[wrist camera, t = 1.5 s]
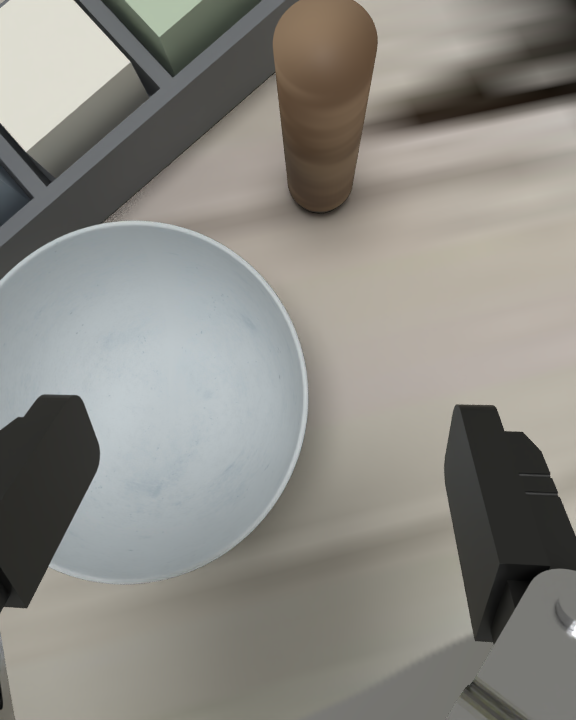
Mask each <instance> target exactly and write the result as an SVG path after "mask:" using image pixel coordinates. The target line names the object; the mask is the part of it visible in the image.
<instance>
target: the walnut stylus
mask: <svg viewBox="0 0 576 720" xmlns="http://www.w3.org/2000/svg"><path fill="white" fill-rule="evenodd" d="M377 44H378V40H377V31H376V28H375V25H374V23H373V20H372V18H371V17H370V15H369V14H368V13H367V11H366V10H365V9H364V8H363V7H362V6H361V5H359V4H358V3H357V2H355V1H354V0H299V1H298V2H296V3H295V4H293V5H292V6H291V7H290V8H289V9H288V10H287V11H285V13H284V14H283V15H282V17H281V18H280V20H279V22H278V24H277V26H276V28H275V32H274V36H273V53H274V63H275V72H276V81H277V90H278V99H279V108H280V117H281V126H282V135H283V144H284V153H285V162H286V171H287V180H288V188H289V191H290V193H291V195H292V197H293V199H294V200H295V201H296V202H297V203H298V204H299V205H301V206H302V207H303V208H305V209H306V210H308V211H311V212H314V213H326V212H329V211H331V210H333V209H335V208H336V207H338V206H339V205H341V204H342V203H343V202H344V201H345V200H346V199H347V197H348V196H349V194H350V192H351V189H352V185H353V179H354V174H355V168H356V163H357V157H358V152H359V146H360V141H361V135H362V129H363V124H364V118H365V113H366V107H367V102H368V96H369V91H370V85H371V80H372V74H373V68H374V63H375V57H376V52H377Z"/></svg>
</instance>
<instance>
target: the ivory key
mask: <svg viewBox="0 0 576 720" xmlns="http://www.w3.org/2000/svg"><path fill="white" fill-rule="evenodd" d="M148 99H149V96H148V94H147V92H146V90H145V88H144V86H143V85H142V83H141V81H140V79H139V77H138V75H137V73H136V71H135V69H134V67H133V66H132V64H131V62H130V61H129V60H128V59H127V58H126V56H125V55H124V54H123V53H122V52H121V51H120V50H119V49H118V48H117V47H116V46H115V45H114V43H113V42H112V41H111V40H110V39H109V38H108V37H107V36H106V35H105V34H104V33H103V32H102V30H101V29H100V28H99V27H98V26H97V25H96V24H95V23H94V22H93V21H92V20H91V19H90V17H89V16H88V15H87V14H86V13H85V12H84V11H83V10H82V9H81V8H80V7H79V6H78V4H77V3H76V2H75V1H74V0H9V1H8V2H7V3H6V4H5V5H4V6H2V7H1V8H0V123H1V124H2V125H3V126H4V128H5V129H6V130H7V131H8V132H9V133H10V134H11V136H12V137H13V138H14V139H15V140H16V141H17V142H18V144H19V145H20V146H21V147H22V148H23V149H24V150H25V152H26V153H28V154H29V155H30V156H31V157H32V158H33V159H34V160H35V161H37V162H38V163H39V164H40V165H41V166H42V167H43V168H44V169H45V170H47V171H48V172H49V173H50V174H51V175H52V176H53V177H54V178H57V177H59V176H60V175H61V174H62V173H63V172H64V171H65V170H67V169H68V168H69V167H70V166H71V165H72V164H74V163H75V162H76V161H77V160H78V159H79V158H81V157H82V156H83V155H84V154H85V153H86V152H87V151H89V150H90V149H91V148H92V147H93V146H94V145H96V144H97V143H98V142H99V141H100V140H101V139H102V138H104V137H105V136H106V135H107V134H108V133H109V132H111V131H112V130H113V129H114V128H115V127H116V126H118V125H119V124H120V123H121V122H122V121H123V120H124V119H126V118H127V117H128V116H129V115H130V114H131V113H133V112H134V111H135V110H136V109H137V108H138V107H140V106H141V105H142V104H143V103H144V102H145V101H146V100H148Z"/></svg>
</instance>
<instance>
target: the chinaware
mask: <svg viewBox="0 0 576 720" xmlns="http://www.w3.org/2000/svg"><path fill="white" fill-rule="evenodd" d="M44 394H54V395H78V396H80V397H81V399H82V400H83V402H84V405H85V407H86V410H87V413H88V416H89V418H90V421H91V424H92V426H93V429H94V432H95V435H96V437H97V440H98V443H99V447H100V461H99V466H98V469H97V472H96V474H95V476H94V478H93V480H92V482H91V484H90V486H89V488H88V490H87V492H86V494H85V496H84V498H83V500H82V502H81V504H80V505H79V507H78V509H77V511H76V513H75V515H74V517H73V519H72V521H71V523H70V525H69V527H68V529H67V531H66V533H65V535H64V537H63V539H62V541H61V543H60V545H59V547H58V549H57V551H56V553H55V554H54V556H53V558H52V560H51V562H50V564H49V566H48V567H50V568H52V569H54V570H56V571H59V572H61V573H64V574H67V575H69V576H73V577H76V578H79V579H84V580H88V581H93V582H99V583H107V584H142V583H150V582H156V581H161V580H165V579H170V578H173V577H177V576H180V575H183V574H186V573H188V572H191V571H193V570H196V569H198V568H200V567H202V566H204V565H206V564H208V563H210V562H212V561H214V560H215V559H217V558H219V557H220V556H222V555H223V554H225V553H226V552H228V551H229V550H231V549H232V548H233V547H235V546H236V545H237V544H238V543H240V542H241V541H242V540H243V539H244V538H245V537H247V536H248V535H249V534H250V533H251V532H252V531H253V530H254V529H255V528H256V527H257V526H258V525H259V524H260V522H261V521H262V520H263V519H264V518H265V517H266V515H267V514H268V513H269V512H270V510H271V509H272V508H273V506H274V505H275V503H276V502H277V500H278V499H279V497H280V496H281V494H282V492H283V491H284V489H285V487H286V485H287V483H288V481H289V479H290V477H291V475H292V473H293V470H294V468H295V466H296V463H297V460H298V457H299V454H300V451H301V448H302V444H303V440H304V435H305V430H306V424H307V416H308V379H307V371H306V365H305V360H304V355H303V351H302V348H301V344H300V341H299V338H298V335H297V333H296V330H295V328H294V325H293V323H292V321H291V319H290V317H289V315H288V313H287V311H286V309H285V307H284V306H283V304H282V302H281V301H280V299H279V298H278V296H277V295H276V293H275V292H274V291H273V289H272V288H271V287H270V285H269V284H268V283H267V282H266V281H265V279H264V278H263V277H262V276H261V275H260V274H259V273H258V272H257V271H256V270H255V269H254V268H253V267H252V266H251V265H250V264H249V263H247V262H246V261H245V260H244V259H243V258H241V257H240V256H239V255H237V254H236V253H235V252H233V251H232V250H230V249H229V248H227V247H226V246H224V245H222V244H221V243H219V242H217V241H215V240H213V239H211V238H209V237H207V236H205V235H202V234H200V233H198V232H195V231H192V230H189V229H186V228H183V227H179V226H175V225H171V224H166V223H159V222H151V221H118V222H110V223H103V224H98V225H94V226H90V227H86V228H83V229H79V230H77V231H74V232H71V233H68V234H66V235H63V236H61V237H59V238H57V239H55V240H53V241H51V242H49V243H47V244H46V245H44V246H42V247H40V248H39V249H37V250H36V251H34V252H33V253H31V254H30V255H28V256H27V257H26V258H24V259H23V260H22V261H21V262H19V263H18V264H17V265H16V266H15V267H14V268H12V269H11V270H10V271H9V272H8V273H7V274H6V275H5V276H4V277H3V278H2V279H1V280H0V430H1V429H2V428H4V427H5V426H6V425H8V424H9V423H10V422H12V421H13V420H14V419H16V418H17V417H24V416H25V414H26V413H27V411H28V410H29V409H30V407H31V406H32V405H33V403H34V402H35V401H36V399H37V398H38V397H39V396H41V395H44Z"/></svg>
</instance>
